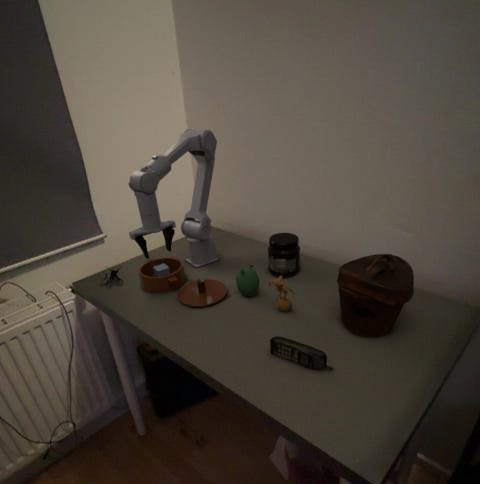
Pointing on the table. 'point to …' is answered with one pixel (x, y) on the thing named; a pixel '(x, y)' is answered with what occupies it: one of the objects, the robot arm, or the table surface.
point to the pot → (163, 282)
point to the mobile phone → (299, 353)
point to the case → (374, 293)
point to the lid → (202, 293)
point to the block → (161, 270)
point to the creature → (112, 276)
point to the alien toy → (247, 281)
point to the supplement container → (283, 254)
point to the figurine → (284, 302)
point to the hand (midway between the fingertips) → (158, 253)
